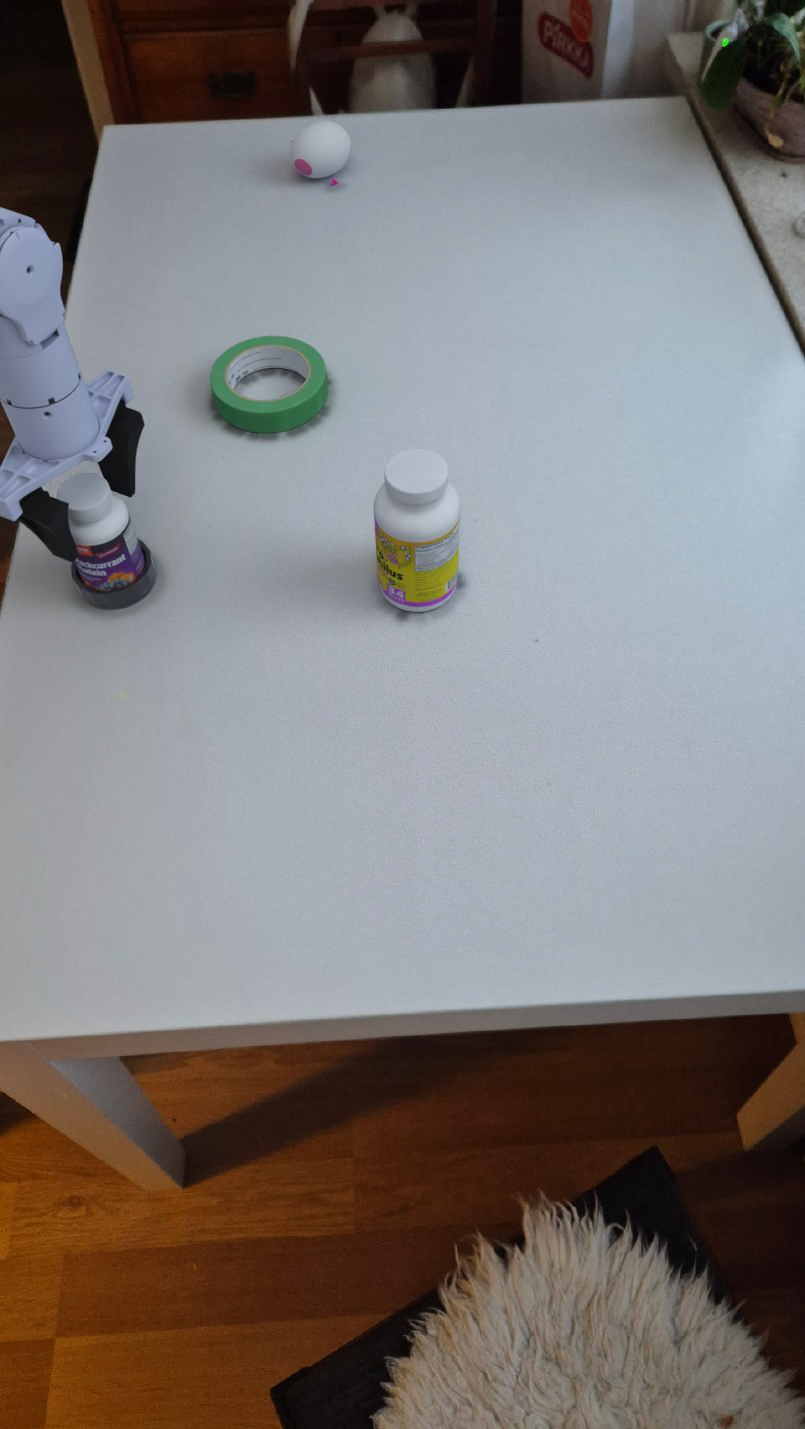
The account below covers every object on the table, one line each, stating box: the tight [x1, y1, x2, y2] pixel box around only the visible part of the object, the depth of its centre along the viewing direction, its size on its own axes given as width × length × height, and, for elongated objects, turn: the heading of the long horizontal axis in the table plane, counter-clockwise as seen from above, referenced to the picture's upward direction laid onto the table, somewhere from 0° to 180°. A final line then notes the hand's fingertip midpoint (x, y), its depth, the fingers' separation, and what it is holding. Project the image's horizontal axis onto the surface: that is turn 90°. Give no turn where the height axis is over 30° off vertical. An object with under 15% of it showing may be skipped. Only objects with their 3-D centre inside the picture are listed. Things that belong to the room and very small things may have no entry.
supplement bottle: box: [373, 448, 461, 613], centre depth 79 cm, size 7×7×13 cm
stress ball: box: [289, 120, 352, 186], centre depth 118 cm, size 8×8×7 cm
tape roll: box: [209, 335, 329, 434], centre depth 97 cm, size 11×11×3 cm
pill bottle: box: [56, 472, 146, 591], centre depth 81 cm, size 5×5×10 cm
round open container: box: [70, 538, 157, 610], centre depth 85 cm, size 7×7×2 cm
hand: (94, 522), depth 80 cm, fingers open, 7 cm apart
